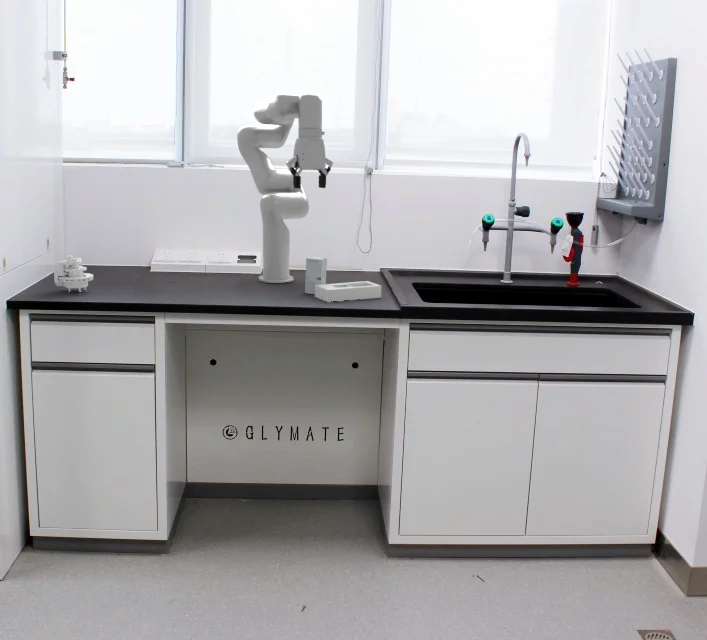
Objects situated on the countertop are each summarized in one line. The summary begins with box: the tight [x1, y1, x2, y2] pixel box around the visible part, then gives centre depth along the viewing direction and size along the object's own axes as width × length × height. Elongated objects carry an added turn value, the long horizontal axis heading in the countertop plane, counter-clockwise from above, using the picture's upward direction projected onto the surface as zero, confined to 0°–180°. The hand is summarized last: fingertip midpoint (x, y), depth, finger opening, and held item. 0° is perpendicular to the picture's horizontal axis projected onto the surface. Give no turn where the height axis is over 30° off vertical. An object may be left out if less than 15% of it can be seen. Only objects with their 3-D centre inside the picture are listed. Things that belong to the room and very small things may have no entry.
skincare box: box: [304, 256, 328, 295], centre depth 265 cm, size 6×4×12 cm
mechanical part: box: [53, 254, 94, 293], centre depth 258 cm, size 11×12×12 cm
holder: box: [314, 280, 382, 303], centre depth 261 cm, size 9×20×4 cm, turn 119°
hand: (309, 188), depth 258 cm, fingers open, 9 cm apart
